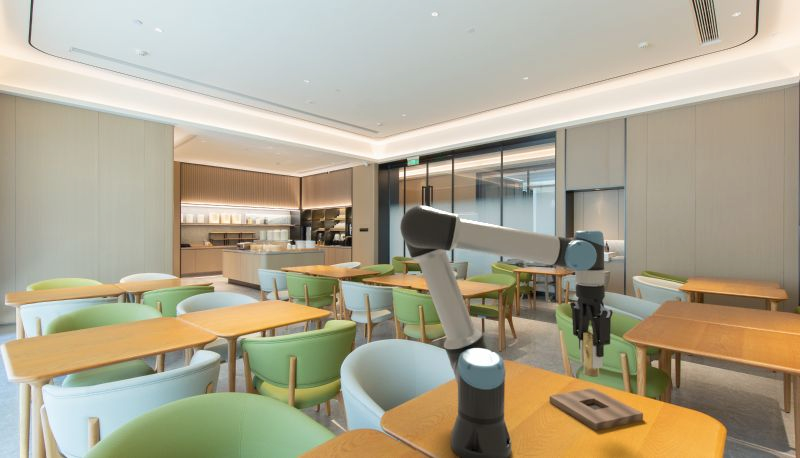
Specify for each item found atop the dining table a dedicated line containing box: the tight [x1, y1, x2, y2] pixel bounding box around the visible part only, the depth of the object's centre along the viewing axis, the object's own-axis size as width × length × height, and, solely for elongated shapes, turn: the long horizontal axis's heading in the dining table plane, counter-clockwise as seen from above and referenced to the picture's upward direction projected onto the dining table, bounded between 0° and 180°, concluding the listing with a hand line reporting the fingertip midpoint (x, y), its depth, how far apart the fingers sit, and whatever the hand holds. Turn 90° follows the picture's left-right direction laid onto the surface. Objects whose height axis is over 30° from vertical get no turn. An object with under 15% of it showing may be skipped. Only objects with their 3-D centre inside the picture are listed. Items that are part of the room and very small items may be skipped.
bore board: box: [549, 387, 644, 431], centre depth 116 cm, size 18×18×2 cm
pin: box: [583, 330, 600, 378], centre depth 110 cm, size 4×4×12 cm
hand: (591, 364), depth 110 cm, fingers closed on pin, 4 cm apart
